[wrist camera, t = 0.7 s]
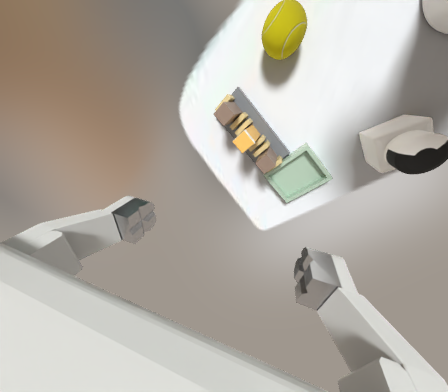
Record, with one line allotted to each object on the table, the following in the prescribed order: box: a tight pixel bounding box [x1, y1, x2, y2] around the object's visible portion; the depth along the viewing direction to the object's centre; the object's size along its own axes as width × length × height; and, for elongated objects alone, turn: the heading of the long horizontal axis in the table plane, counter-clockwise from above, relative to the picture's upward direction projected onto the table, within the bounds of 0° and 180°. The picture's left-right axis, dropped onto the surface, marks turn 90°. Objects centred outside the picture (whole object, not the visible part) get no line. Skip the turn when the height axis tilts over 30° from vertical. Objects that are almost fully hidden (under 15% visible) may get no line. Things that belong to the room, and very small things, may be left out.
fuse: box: [232, 124, 260, 154], centre depth 35 cm, size 3×3×10 cm
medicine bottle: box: [359, 114, 448, 174], centre depth 28 cm, size 7×7×12 cm
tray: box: [264, 143, 333, 203], centre depth 40 cm, size 12×10×3 cm
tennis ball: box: [262, 0, 307, 60], centre depth 27 cm, size 7×7×7 cm
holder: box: [214, 87, 290, 174], centre depth 36 cm, size 19×8×9 cm, turn 46°
